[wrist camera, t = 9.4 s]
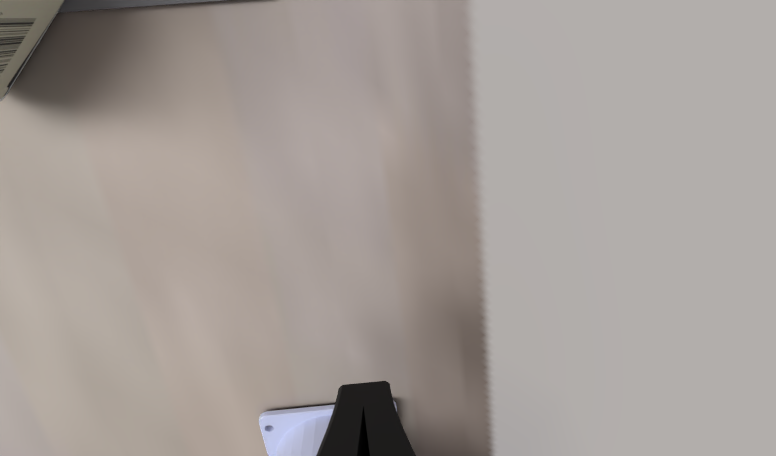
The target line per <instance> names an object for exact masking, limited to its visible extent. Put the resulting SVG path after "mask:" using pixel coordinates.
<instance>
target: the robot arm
mask: <svg viewBox="0 0 776 456" xmlns="http://www.w3.org/2000/svg"><path fill="white" fill-rule="evenodd" d="M259 424H260V428H261V432H262V435H263V439H264V443H265V446H266V450H267V454H268V456H416V455H415V453H414V451H413V449H412V447H411V445H410V443H409V440H408V438H407V436H406V434H405V432H404V429H403V427H402V424H401V422H400V419H399V417H398V414H397V405H396V402H395V401H393V398H392V394H391V390H390V384H389V383H388V382H386V381H379V382H369V383H359V384H349V385H342V386H341V387H340V388H339V390H338V395H337V399H336V403H335V405H325V406H315V407H305V408H295V409H285V410H275V411H266V412H263V413H262V414H261V415H260V418H259ZM268 425H271V426H268Z"/></svg>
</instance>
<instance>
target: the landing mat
mask: <svg viewBox="0 0 776 456" xmlns="http://www.w3.org/2000/svg"><path fill="white" fill-rule="evenodd" d="M213 1H227V0H65V1H64V3H63V5H62V6H61V8H60V9H59V11H58V13H61V12H75V11H89V10H103V9H117V8H130V7H144V6H158V5H172V4H186V3H200V2H213Z"/></svg>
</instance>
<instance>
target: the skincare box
mask: <svg viewBox="0 0 776 456" xmlns="http://www.w3.org/2000/svg"><path fill="white" fill-rule="evenodd" d="M64 1H65V0H0V101H2V100H3V99H4V98H5V96H6V95H7V94H8V92H9V90H10V89H11V87H12V85H13V84H14V82H15V80H16V79H17V77H18V76H19V74H20V72H21V71H22V69H23V68H24V66H25V64H26V63H27V61H28V60H29V58H30V57H31V55H32V53H33V51H34V50H35V48H36V47H37V45H38V44H39V42H40V40H41V39H42V37H43V35H44V34H45V32H46V31H47V29H48V27H49V26H50V24H51V22H52V21H53V19H54V18H55V16H56V14H57V13H58V11H59V9H60V8H61V6H62V5H63V3H64Z"/></svg>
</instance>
